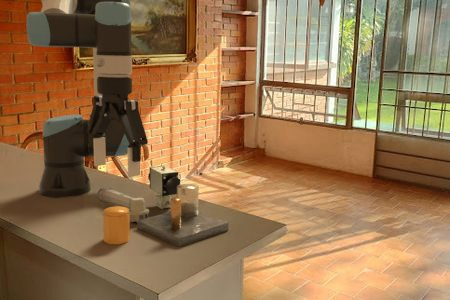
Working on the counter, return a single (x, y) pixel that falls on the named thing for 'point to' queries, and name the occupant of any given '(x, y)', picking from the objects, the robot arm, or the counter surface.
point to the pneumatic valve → (163, 184)
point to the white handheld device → (125, 203)
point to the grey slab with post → (183, 220)
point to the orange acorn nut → (116, 225)
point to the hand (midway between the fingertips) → (116, 170)
